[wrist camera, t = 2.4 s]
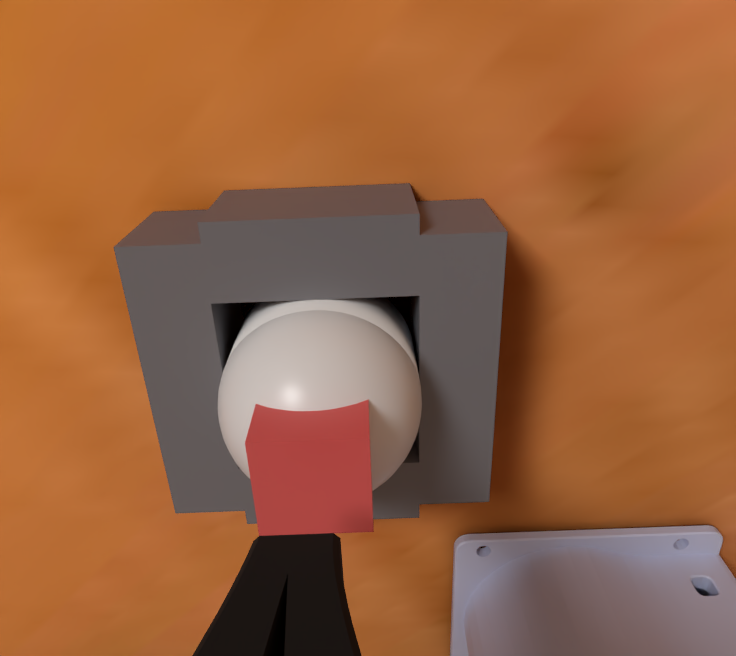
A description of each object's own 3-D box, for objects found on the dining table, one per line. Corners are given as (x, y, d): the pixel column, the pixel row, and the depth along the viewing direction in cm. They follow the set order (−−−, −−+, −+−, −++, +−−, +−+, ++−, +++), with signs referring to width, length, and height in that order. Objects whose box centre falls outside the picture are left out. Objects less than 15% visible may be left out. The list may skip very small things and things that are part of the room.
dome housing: (484, 180, 16) (508, 210, 14) (471, 450, 20) (488, 515, 18) (150, 193, 16) (108, 226, 14) (202, 460, 20) (178, 526, 18)
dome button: (413, 267, 16) (438, 377, 11) (413, 422, 18) (434, 573, 13) (226, 274, 16) (165, 388, 11) (249, 428, 18) (206, 582, 13)
